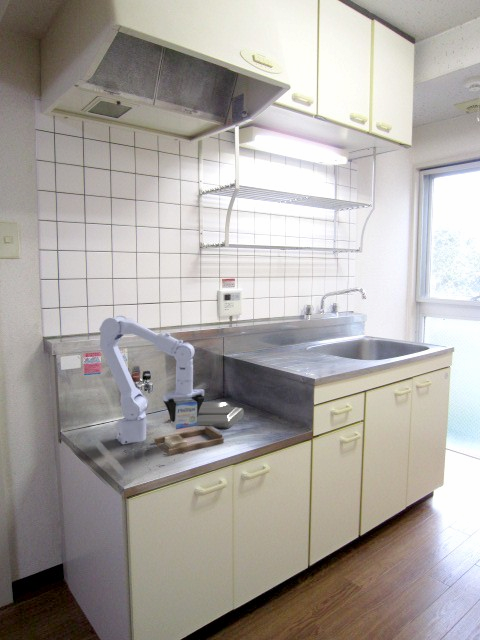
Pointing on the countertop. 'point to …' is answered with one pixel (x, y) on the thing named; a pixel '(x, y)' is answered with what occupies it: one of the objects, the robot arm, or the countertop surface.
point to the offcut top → (175, 441)
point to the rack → (207, 430)
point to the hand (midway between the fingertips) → (183, 418)
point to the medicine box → (185, 414)
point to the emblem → (219, 414)
